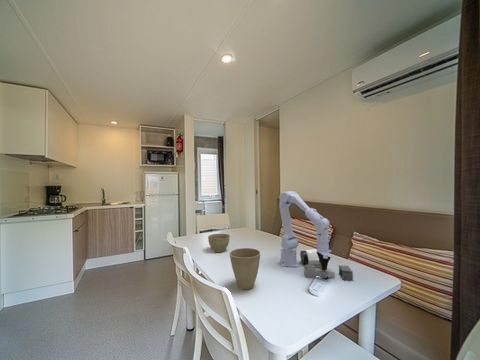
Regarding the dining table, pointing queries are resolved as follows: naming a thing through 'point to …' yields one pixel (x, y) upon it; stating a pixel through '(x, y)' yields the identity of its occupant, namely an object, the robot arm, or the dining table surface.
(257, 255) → the plant pot
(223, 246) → the planter bowl
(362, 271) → the dining table surface
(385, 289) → the dining table surface
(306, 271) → the sleeve
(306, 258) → the jar
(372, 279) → the dining table surface
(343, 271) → the dark gray rectangular block
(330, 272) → the slab with tan knob
